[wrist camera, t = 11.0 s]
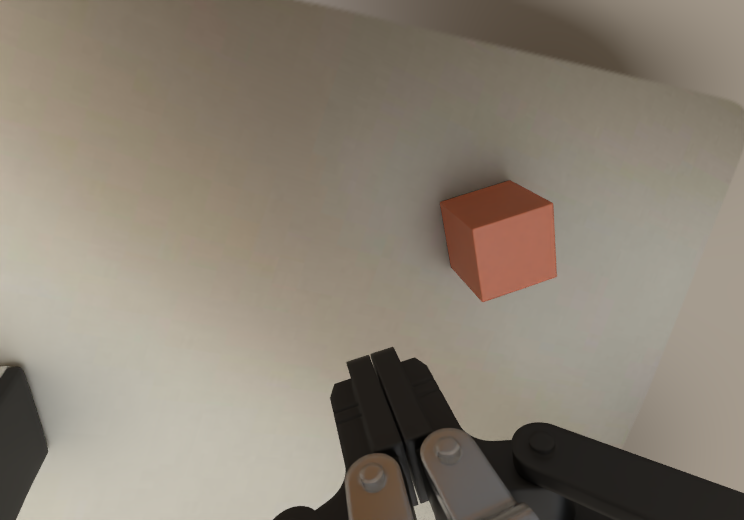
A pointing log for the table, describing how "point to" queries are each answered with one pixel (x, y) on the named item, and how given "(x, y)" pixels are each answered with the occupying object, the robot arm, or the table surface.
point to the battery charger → (18, 441)
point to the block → (500, 239)
